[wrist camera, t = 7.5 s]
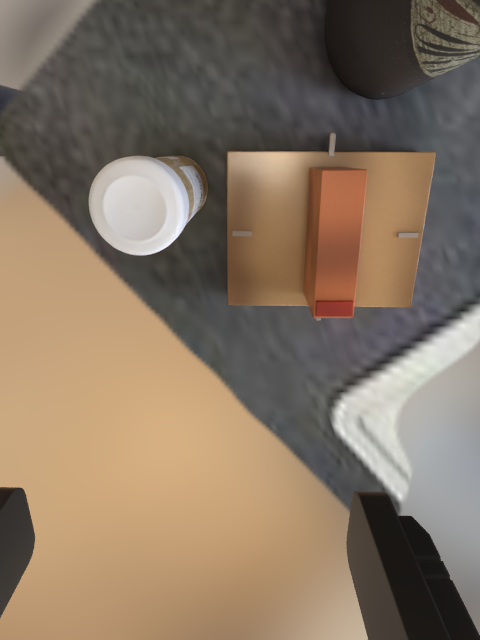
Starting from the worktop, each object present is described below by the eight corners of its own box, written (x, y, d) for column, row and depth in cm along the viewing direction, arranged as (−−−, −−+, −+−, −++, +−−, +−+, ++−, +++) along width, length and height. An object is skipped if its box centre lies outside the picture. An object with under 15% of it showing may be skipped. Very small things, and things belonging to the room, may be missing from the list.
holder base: (229, 305, 35) (227, 319, 32) (228, 134, 30) (226, 132, 28) (396, 307, 35) (409, 321, 32) (422, 135, 30) (440, 133, 27)
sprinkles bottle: (158, 146, 31) (96, 141, 18) (217, 167, 31) (195, 176, 19) (143, 207, 32) (77, 239, 20) (199, 226, 33) (169, 269, 20)
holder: (309, 167, 28) (322, 170, 23) (348, 167, 28) (369, 169, 23) (303, 294, 32) (313, 319, 27) (338, 294, 32) (354, 319, 27)
